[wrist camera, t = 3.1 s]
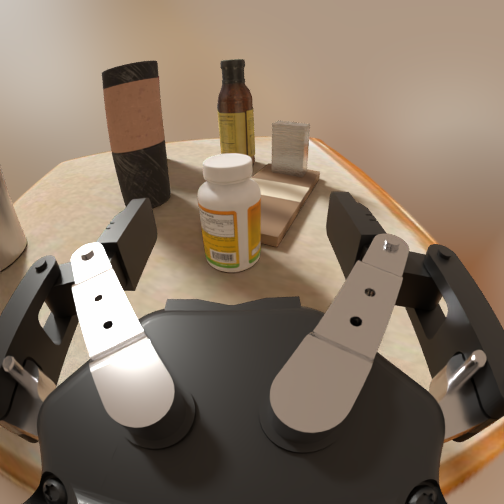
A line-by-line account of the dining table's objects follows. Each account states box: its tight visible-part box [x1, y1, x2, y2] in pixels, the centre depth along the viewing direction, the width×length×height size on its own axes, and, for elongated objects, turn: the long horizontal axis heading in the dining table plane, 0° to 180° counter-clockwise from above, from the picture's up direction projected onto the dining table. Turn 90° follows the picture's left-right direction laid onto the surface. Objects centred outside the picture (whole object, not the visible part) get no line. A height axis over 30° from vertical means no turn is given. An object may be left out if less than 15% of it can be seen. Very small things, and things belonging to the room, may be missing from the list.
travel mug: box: [102, 61, 170, 208], centre depth 32 cm, size 8×8×20 cm
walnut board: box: [250, 164, 320, 247], centre depth 36 cm, size 21×9×1 cm, turn 156°
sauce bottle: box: [217, 59, 255, 164], centre depth 43 cm, size 6×6×20 cm
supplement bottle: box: [197, 153, 261, 272], centre depth 24 cm, size 5×5×10 cm
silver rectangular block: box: [272, 121, 310, 177], centre depth 39 cm, size 3×5×8 cm, turn 66°
